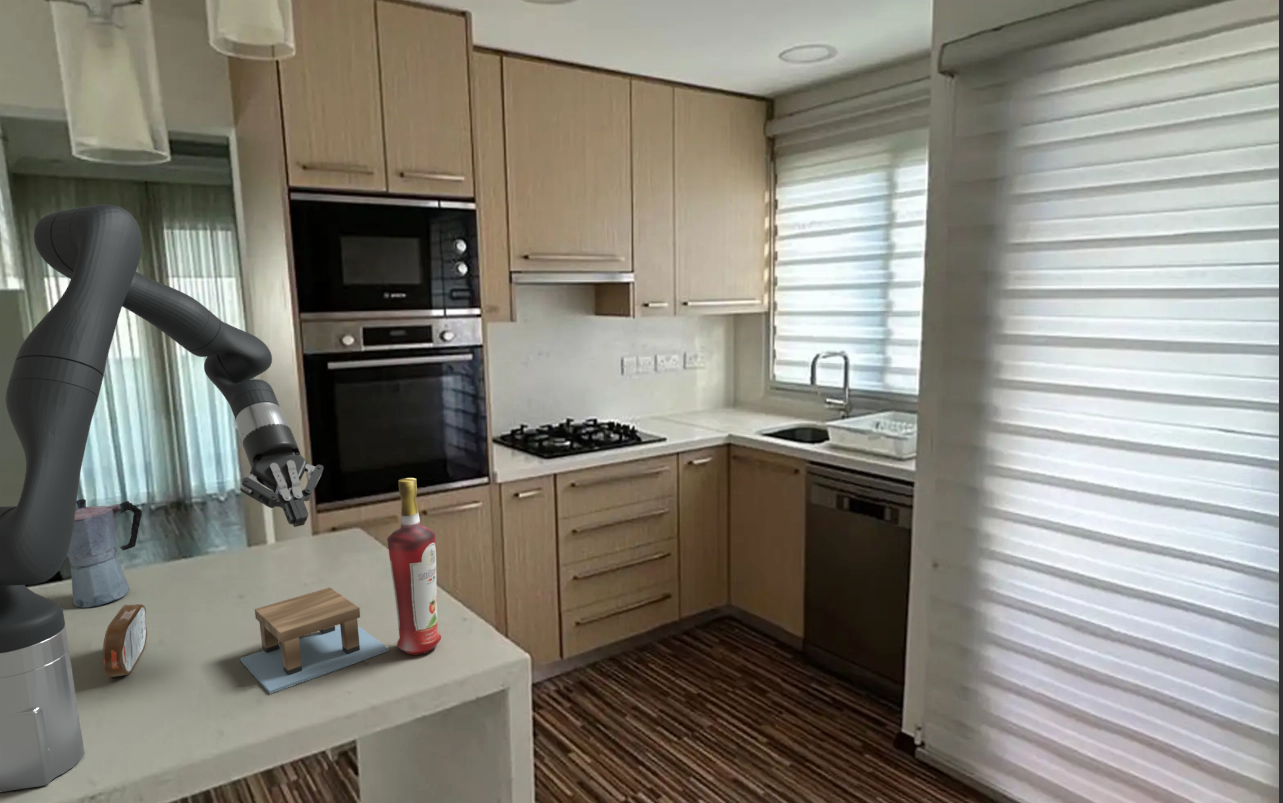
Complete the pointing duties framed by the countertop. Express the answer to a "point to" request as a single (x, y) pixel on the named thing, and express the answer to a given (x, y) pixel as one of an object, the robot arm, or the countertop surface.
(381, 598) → the countertop surface
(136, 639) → the tin
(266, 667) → the mat
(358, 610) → the wooden board with legs
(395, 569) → the liquor
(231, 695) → the countertop surface
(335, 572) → the countertop surface
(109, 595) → the moka pot
